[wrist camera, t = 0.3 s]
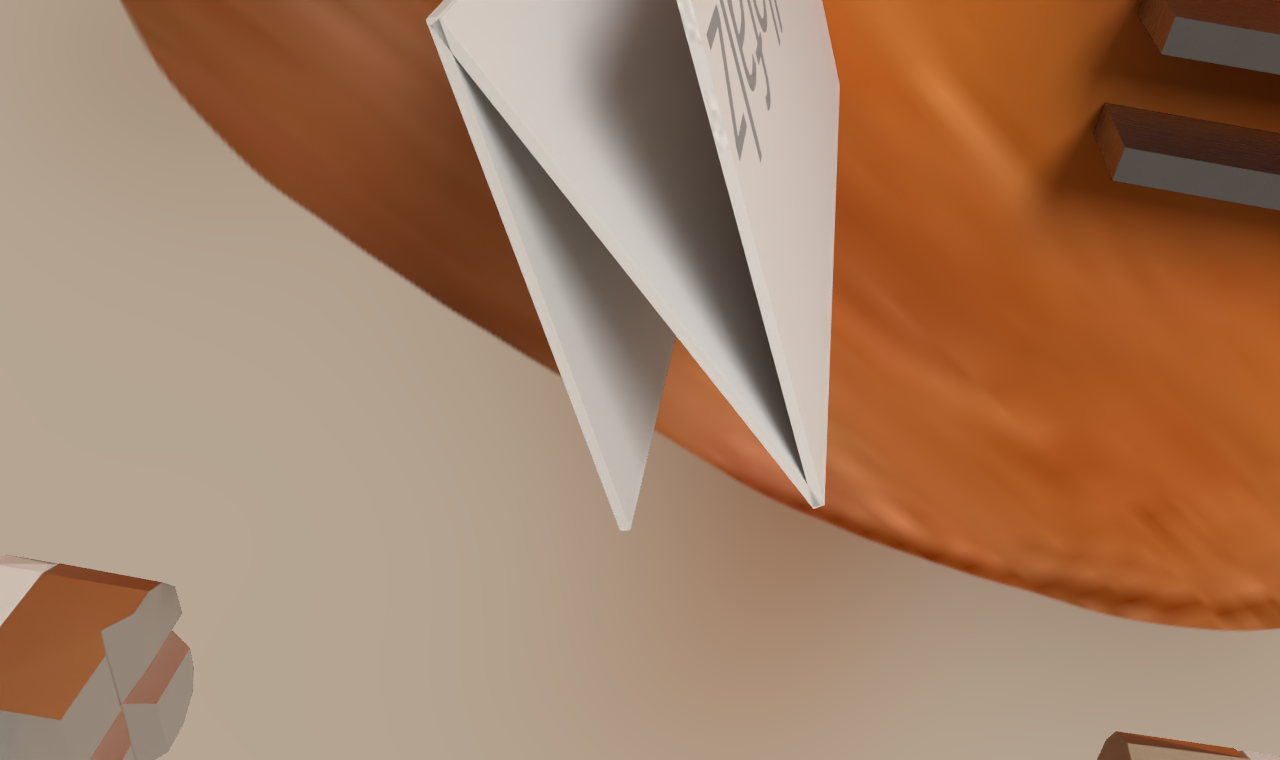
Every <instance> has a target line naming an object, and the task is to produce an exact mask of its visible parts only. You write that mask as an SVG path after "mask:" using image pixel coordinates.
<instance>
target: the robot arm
mask: <svg viewBox="0 0 1280 760" xmlns="http://www.w3.org/2000/svg"><path fill="white" fill-rule="evenodd" d="M181 614H182V611H181V607H180V604H179V600H178V596H177V593H176V589H175V586H171V585H169V584H165V583H162V582H157V581H151V580H146V579H141V578H135V577H130V576H124V575H119V574H114V573H108V572H103V571H97V570H92V569H87V568H81V567H76V566H70V565H65V564H56V563H51V562H45V561H39V560H33V559H28V558H22V557H17V556H11V555H6V556H4V557H2V558H0V760H155V759H157V758H158V757H160V756H162V755H163V754H165V753H166V752H168V751H169V749H170V747H171V745H172V743H173V742H174V740H175V738H176V736H177V734H178V732H179V730H180V729H181V727H182V725H183V723H184V719H185V716H186V713H187V709H188V705H189V702H190V699H191V696H192V692H193V670H194V667H193V662H192V657H191V652H190V648H189V647H188V646H187V645H186V644H185V643H184V642H183V641H182V640H181V639H180V638H179V637H178V636H177V635H176V634H175V633H174V632H173V631H172V628H173V627H174V625H175V624H176V622H177V621H178V619H179V617H180V616H181ZM1097 760H1280V756H1274V755H1268V754H1261V753H1254V752H1248V751H1237V750H1235V749H1234V748H1227V747H1220V746H1213V745H1206V744H1199V743H1192V742H1185V741H1178V740H1172V739H1165V738H1158V737H1151V736H1144V735H1137V734H1131V733H1123V732H1115V733H1113V734H1112V735H1111V736H1110V737H1109V738H1108V739H1106V741H1105V743H1104V745H1103V748H1102V750H1101V753H1100V754H1099V756H1098V758H1097Z"/></svg>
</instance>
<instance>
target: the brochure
mask: <svg viewBox="0 0 1280 760" xmlns="http://www.w3.org/2000/svg"><path fill="white" fill-rule="evenodd" d="M426 22H427V24H428V27H429V30H430V32H431V35H432V38H433V40H434V43H435V45H436V48H437V51H438V53H439V56H440V59H441V61H442V64H443V66H444V69H445V72H446V74H447V77H448V80H449V82H450V85H451V88H452V90H453V93H454V95H455V98H456V101H457V103H458V106H459V109H460V111H461V114H462V116H463V119H464V122H465V124H466V127H467V130H468V132H469V135H470V137H471V140H472V143H473V145H474V148H475V151H476V153H477V156H478V158H479V161H480V164H481V166H482V169H483V172H484V174H485V177H486V180H487V182H488V185H489V187H490V190H491V193H492V195H493V198H494V201H495V203H496V206H497V208H498V211H499V214H500V216H501V219H502V222H503V224H504V227H505V229H506V232H507V235H508V237H509V240H510V243H511V245H512V248H513V251H514V253H515V256H516V258H517V261H518V264H519V266H520V269H521V272H522V274H523V277H524V279H525V282H526V285H527V287H528V290H529V293H530V295H531V298H532V300H533V303H534V306H535V308H536V311H537V314H538V316H539V319H540V321H541V324H542V327H543V329H544V332H545V335H546V337H547V340H548V343H549V345H550V348H551V350H552V353H553V356H554V358H555V361H556V364H557V366H558V369H559V371H560V374H561V377H562V379H563V382H564V384H565V387H566V390H567V392H568V395H569V398H570V400H571V403H572V405H573V408H574V411H575V413H576V416H577V419H578V421H579V424H580V427H581V429H582V432H583V434H584V437H585V440H586V442H587V445H588V448H589V450H590V453H591V456H592V458H593V461H594V463H595V466H596V469H597V471H598V474H599V477H600V479H601V482H602V484H603V487H604V490H605V492H606V495H607V498H608V500H609V503H610V505H611V508H612V511H613V513H614V516H615V519H616V521H617V524H618V527H619V529H620V531H625V530H630V529H631V525H632V520H633V517H634V512H635V508H636V504H637V500H638V495H639V491H640V486H641V482H642V478H643V474H644V470H645V465H646V461H647V457H648V453H649V448H650V444H651V440H652V436H653V431H654V427H655V423H656V419H657V414H658V410H659V406H660V402H661V397H662V393H663V389H664V385H665V380H666V376H667V372H668V368H669V363H670V359H671V355H672V351H673V346H674V342H675V338H676V336H677V337H678V339H679V340H680V341H681V342H682V344H683V345H684V346H685V347H686V349H687V350H688V351H689V352H690V354H691V355H692V356H693V358H694V359H695V360H696V361H697V363H698V364H699V365H700V366H701V368H702V369H703V370H704V371H705V373H706V374H707V375H708V376H709V378H710V379H711V380H712V381H713V383H714V384H715V385H716V386H717V388H718V389H719V390H720V392H721V393H722V394H723V395H724V397H725V398H726V399H727V400H728V402H729V403H730V404H731V405H732V407H733V408H734V409H735V410H736V412H737V413H738V414H739V415H740V417H741V418H742V419H743V421H744V422H745V423H746V424H747V426H748V427H749V428H750V429H751V431H752V432H753V433H754V434H755V436H756V437H757V438H758V439H759V441H760V442H761V443H762V444H763V446H764V447H765V448H766V449H767V451H768V452H769V453H770V455H771V456H772V457H773V458H774V460H775V461H776V462H777V463H778V465H779V466H780V467H781V468H782V470H783V471H784V472H785V473H786V475H787V476H788V477H789V478H790V480H791V481H792V482H793V484H794V485H795V486H796V487H797V489H798V490H799V491H800V492H801V494H802V495H803V496H804V497H805V499H806V500H807V501H808V502H809V504H810V505H811V506H812V507H813V509H815V508H818V507H820V506H823V505H824V504H825V477H826V450H827V422H828V395H829V367H830V340H831V312H832V285H833V257H834V230H835V203H836V175H837V148H838V120H839V93H840V84H839V79H838V74H837V70H836V65H835V60H834V55H833V50H832V46H831V41H830V36H829V31H828V26H827V22H826V17H825V12H824V7H823V2H822V0H443V1H442V3H441V4H440V5H439V6H438V7H437V8H436V9H435V10H434V11H433V12H432V13H431V14H430V15H429V16H428V18H427V19H426Z"/></svg>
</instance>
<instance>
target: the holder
mask: <svg viewBox="0 0 1280 760" xmlns="http://www.w3.org/2000/svg"><path fill="white" fill-rule="evenodd" d="M1137 15H1138V17H1139V18H1140V20H1141V22H1142V23H1143V25H1144V27H1145V28H1146V30H1147V32H1148V33H1149V35H1150V37H1151V38H1152V40H1153V42H1154V43H1155V45H1156V47H1157V48H1158V50H1159V51H1160V53H1161V54H1163V55H1169V56H1175V57H1180V58H1186V59H1192V60H1198V61H1204V62H1209V63H1215V64H1221V65H1227V66H1232V67H1238V68H1244V69H1250V70H1255V71H1261V72H1267V73H1273V74H1278V75H1280V2H1278V1H1272V0H1143V1H1142V3H1141V6H1140V9H1139V11H1138V14H1137ZM1094 137H1095V139H1096V142H1097V144H1098V146H1099V149H1100V151H1101V154H1102V156H1103V159H1104V161H1105V164H1106V166H1107V169H1108V171H1109V174H1110V176H1111V178H1112V181H1118V182H1123V183H1129V184H1134V185H1140V186H1145V187H1151V188H1157V189H1162V190H1168V191H1173V192H1179V193H1184V194H1190V195H1196V196H1201V197H1207V198H1212V199H1218V200H1223V201H1229V202H1235V203H1240V204H1246V205H1251V206H1257V207H1263V208H1268V209H1274V210H1279V211H1280V134H1278V133H1273V132H1267V131H1261V130H1256V129H1250V128H1244V127H1239V126H1233V125H1227V124H1222V123H1216V122H1210V121H1205V120H1199V119H1193V118H1188V117H1182V116H1176V115H1171V114H1165V113H1159V112H1153V111H1148V110H1142V109H1136V108H1131V107H1125V106H1119V105H1114V104H1108V103H1105V104H1104V107H1103V110H1102V112H1101V115H1100V118H1099V120H1098V123H1097V126H1096V129H1095V131H1094Z"/></svg>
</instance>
